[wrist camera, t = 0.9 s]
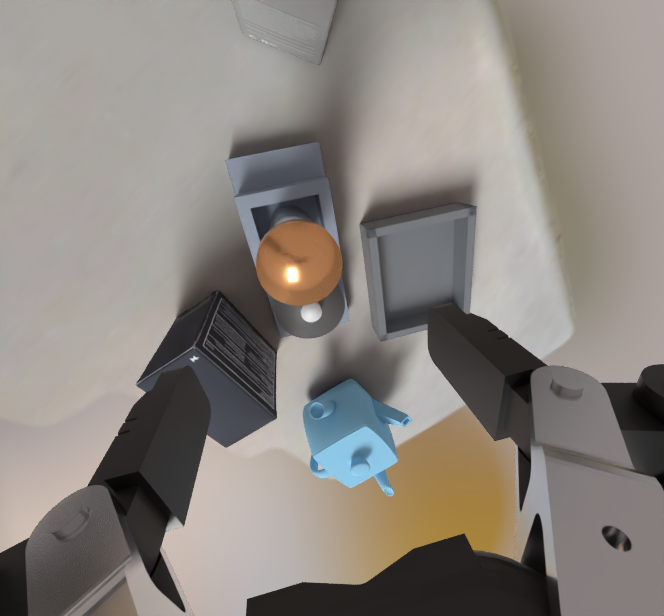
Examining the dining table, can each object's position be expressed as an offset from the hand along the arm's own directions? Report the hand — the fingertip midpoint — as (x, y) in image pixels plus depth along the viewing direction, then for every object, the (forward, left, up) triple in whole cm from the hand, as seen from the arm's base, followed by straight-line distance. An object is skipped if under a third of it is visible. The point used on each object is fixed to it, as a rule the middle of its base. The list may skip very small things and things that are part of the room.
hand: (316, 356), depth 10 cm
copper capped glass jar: (0, 0, -20) cm, 20 cm away
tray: (+8, +13, -22) cm, 27 cm away
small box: (+11, -10, -22) cm, 27 cm away
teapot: (+26, +2, -22) cm, 34 cm away
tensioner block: (+2, 0, -22) cm, 22 cm away
